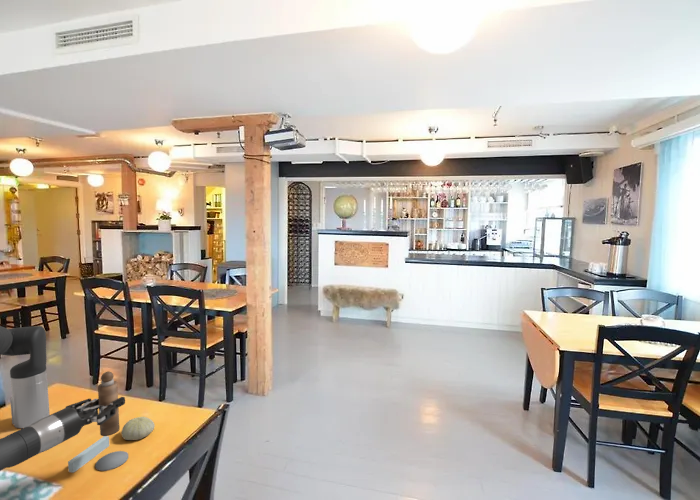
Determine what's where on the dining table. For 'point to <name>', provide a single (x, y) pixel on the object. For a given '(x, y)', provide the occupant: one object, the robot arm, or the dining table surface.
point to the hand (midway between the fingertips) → (117, 398)
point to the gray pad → (111, 460)
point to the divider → (88, 454)
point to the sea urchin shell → (137, 428)
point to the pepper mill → (105, 396)
